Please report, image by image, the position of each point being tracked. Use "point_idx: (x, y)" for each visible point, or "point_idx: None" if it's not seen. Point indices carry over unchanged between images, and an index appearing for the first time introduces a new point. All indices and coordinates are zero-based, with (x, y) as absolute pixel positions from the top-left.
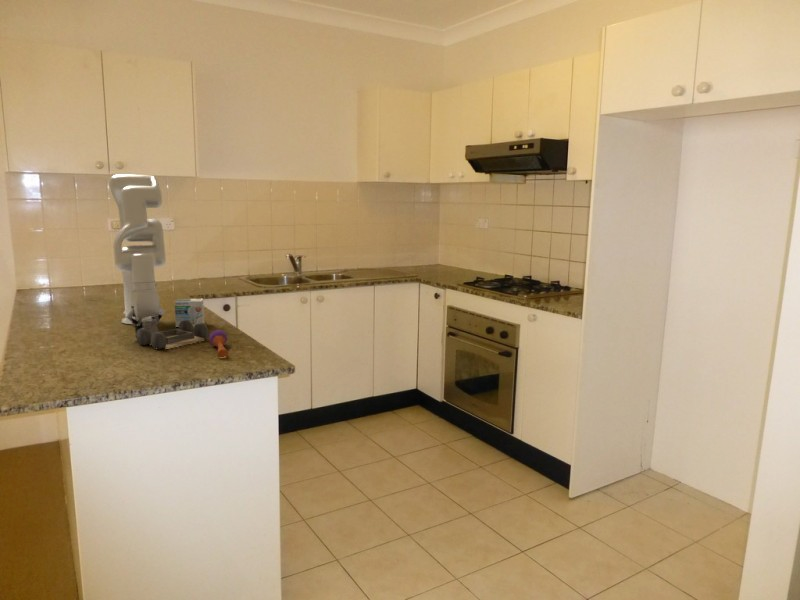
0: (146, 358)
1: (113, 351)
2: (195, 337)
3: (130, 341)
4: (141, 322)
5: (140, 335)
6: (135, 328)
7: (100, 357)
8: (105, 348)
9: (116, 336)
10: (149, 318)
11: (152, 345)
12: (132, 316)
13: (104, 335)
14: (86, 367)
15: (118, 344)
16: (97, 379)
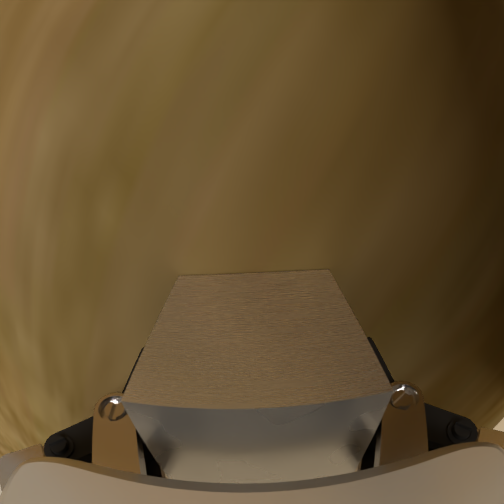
0: None
1: (37, 425)
2: None
3: (98, 377)
4: (171, 471)
5: None
6: (129, 379)
7: (16, 430)
8: (6, 378)
9: (53, 153)
10: (363, 423)
11: None
12: (55, 463)
13: (24, 57)
14: (9, 446)
15: (42, 374)
16: None
